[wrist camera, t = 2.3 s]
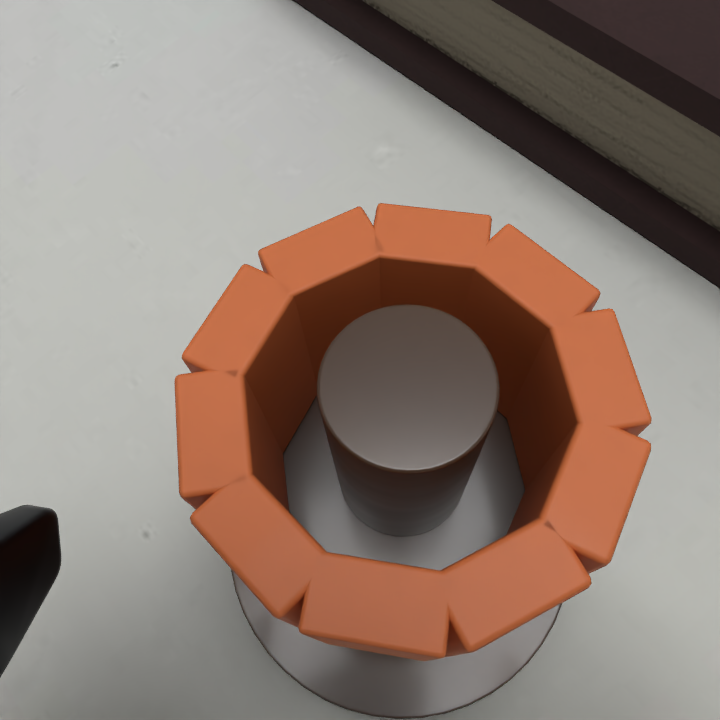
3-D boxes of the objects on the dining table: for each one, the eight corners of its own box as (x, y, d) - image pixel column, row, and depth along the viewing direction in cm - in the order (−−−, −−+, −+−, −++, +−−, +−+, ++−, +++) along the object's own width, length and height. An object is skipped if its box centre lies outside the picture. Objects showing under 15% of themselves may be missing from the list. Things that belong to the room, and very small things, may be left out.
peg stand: (554, 747, 17) (802, 867, 7) (200, 681, 18) (-50, 699, 8) (569, 405, 20) (745, 149, 10) (274, 364, 21) (171, 93, 11)
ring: (571, 687, 11) (656, 696, 8) (192, 620, 12) (107, 599, 8) (583, 344, 14) (651, 231, 10) (269, 304, 15) (230, 184, 11)
